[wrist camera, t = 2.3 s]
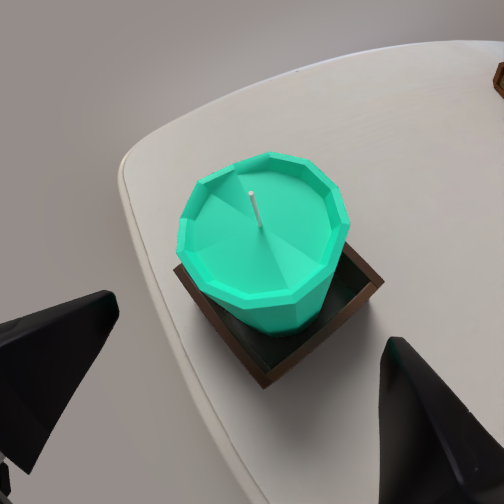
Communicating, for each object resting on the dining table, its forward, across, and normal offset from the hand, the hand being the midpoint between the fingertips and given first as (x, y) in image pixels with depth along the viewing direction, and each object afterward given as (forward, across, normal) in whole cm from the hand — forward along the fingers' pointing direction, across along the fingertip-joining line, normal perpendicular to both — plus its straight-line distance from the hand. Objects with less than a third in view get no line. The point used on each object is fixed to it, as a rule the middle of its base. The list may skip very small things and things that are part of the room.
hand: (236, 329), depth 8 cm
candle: (+10, 0, +5) cm, 11 cm away
